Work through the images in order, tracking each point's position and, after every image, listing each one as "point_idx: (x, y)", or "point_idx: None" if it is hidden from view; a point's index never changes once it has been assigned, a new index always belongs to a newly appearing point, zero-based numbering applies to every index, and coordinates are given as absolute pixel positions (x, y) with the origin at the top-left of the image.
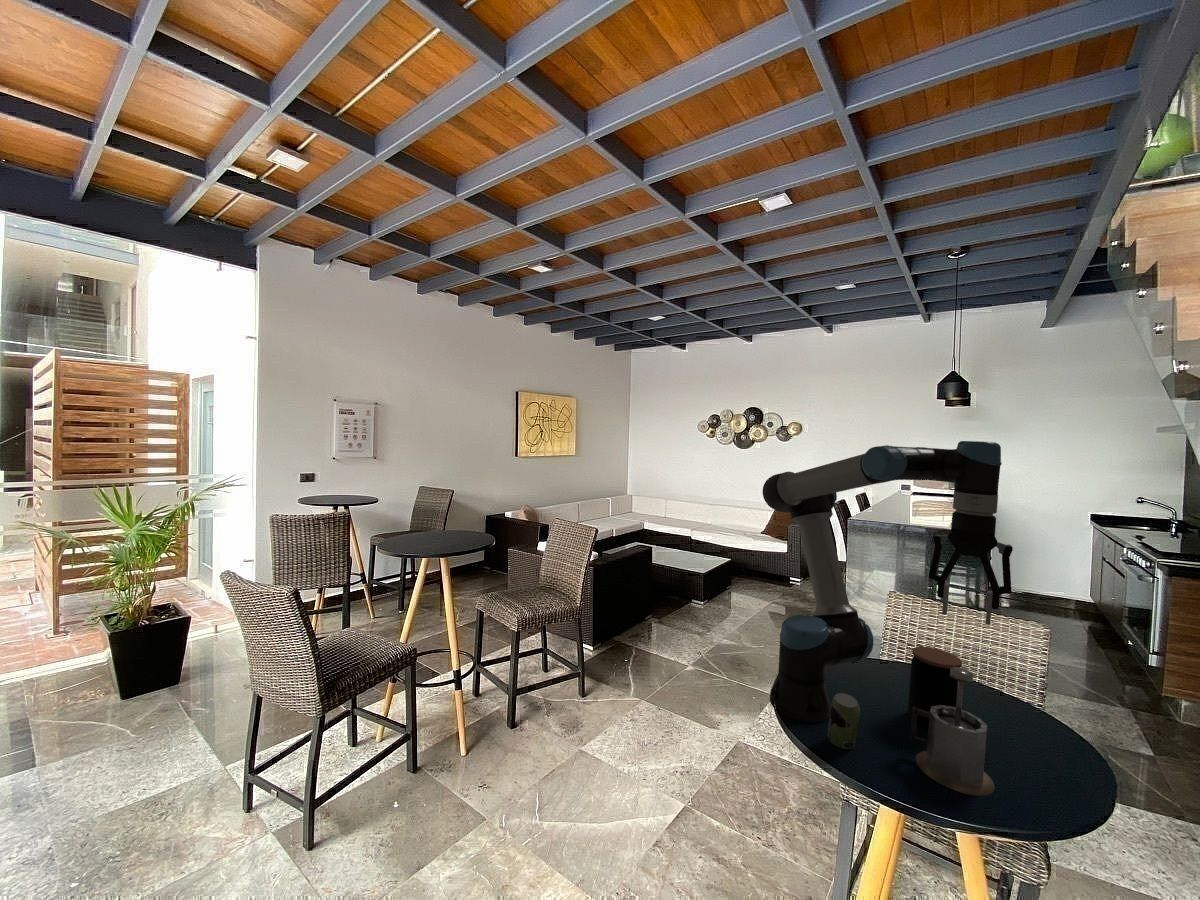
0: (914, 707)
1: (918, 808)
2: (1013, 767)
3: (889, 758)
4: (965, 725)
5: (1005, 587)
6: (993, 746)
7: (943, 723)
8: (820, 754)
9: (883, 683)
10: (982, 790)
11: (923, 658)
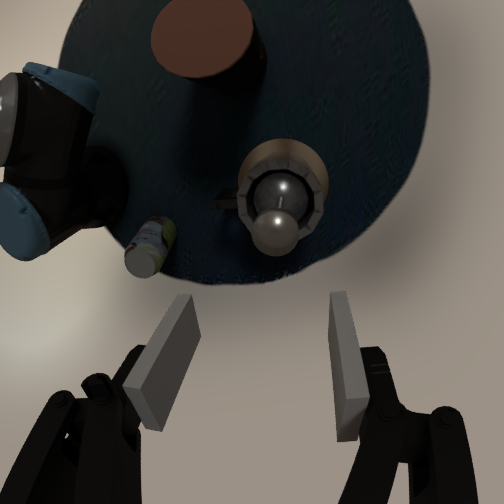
0: (214, 202)
1: (263, 283)
2: (343, 99)
3: (213, 212)
4: (291, 188)
5: (416, 472)
6: (315, 59)
7: None
8: None
9: (148, 4)
10: None
11: (180, 75)
